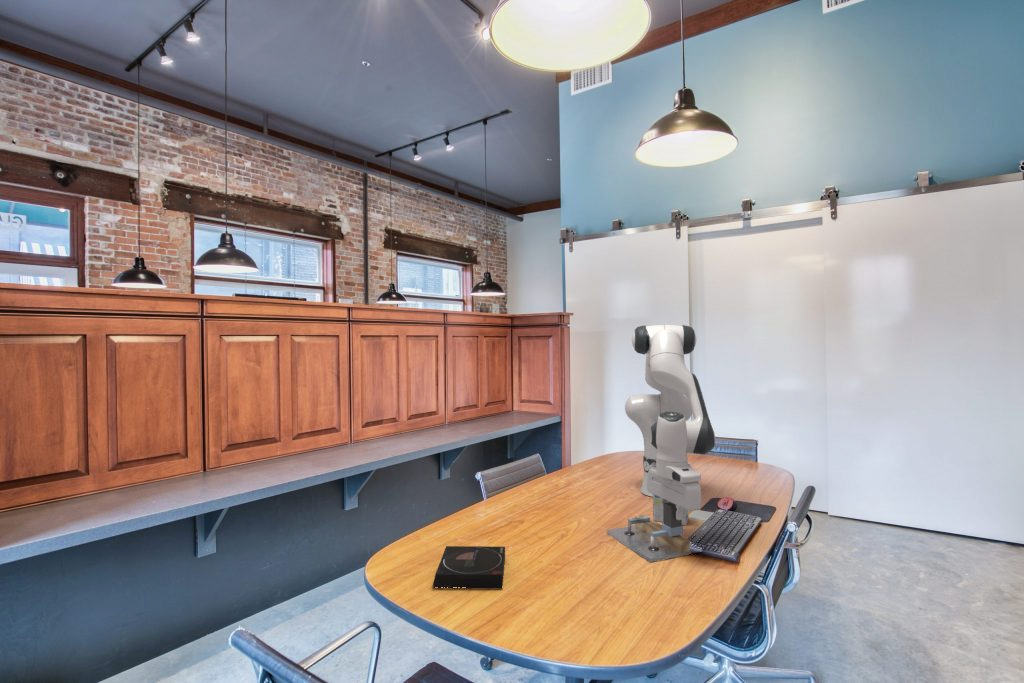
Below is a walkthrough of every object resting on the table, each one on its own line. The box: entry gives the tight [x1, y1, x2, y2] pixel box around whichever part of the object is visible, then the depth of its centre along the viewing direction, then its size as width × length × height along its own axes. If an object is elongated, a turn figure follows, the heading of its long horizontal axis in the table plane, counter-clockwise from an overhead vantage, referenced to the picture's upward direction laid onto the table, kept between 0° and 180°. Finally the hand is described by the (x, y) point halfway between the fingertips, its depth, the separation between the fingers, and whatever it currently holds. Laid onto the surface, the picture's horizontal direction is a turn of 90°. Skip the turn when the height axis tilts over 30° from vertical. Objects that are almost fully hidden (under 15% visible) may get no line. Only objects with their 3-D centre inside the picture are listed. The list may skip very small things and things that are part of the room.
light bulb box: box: [652, 494, 689, 526], centre depth 166 cm, size 11×7×11 cm, turn 65°
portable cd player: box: [432, 545, 506, 589], centre depth 129 cm, size 16×17×4 cm
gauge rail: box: [627, 514, 691, 553], centre depth 148 cm, size 9×22×4 cm, turn 21°
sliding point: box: [651, 502, 685, 548], centre depth 143 cm, size 10×4×12 cm, turn 111°
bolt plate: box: [606, 525, 692, 563], centre depth 148 cm, size 18×22×1 cm
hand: (672, 516), depth 143 cm, fingers closed on sliding point, 4 cm apart
